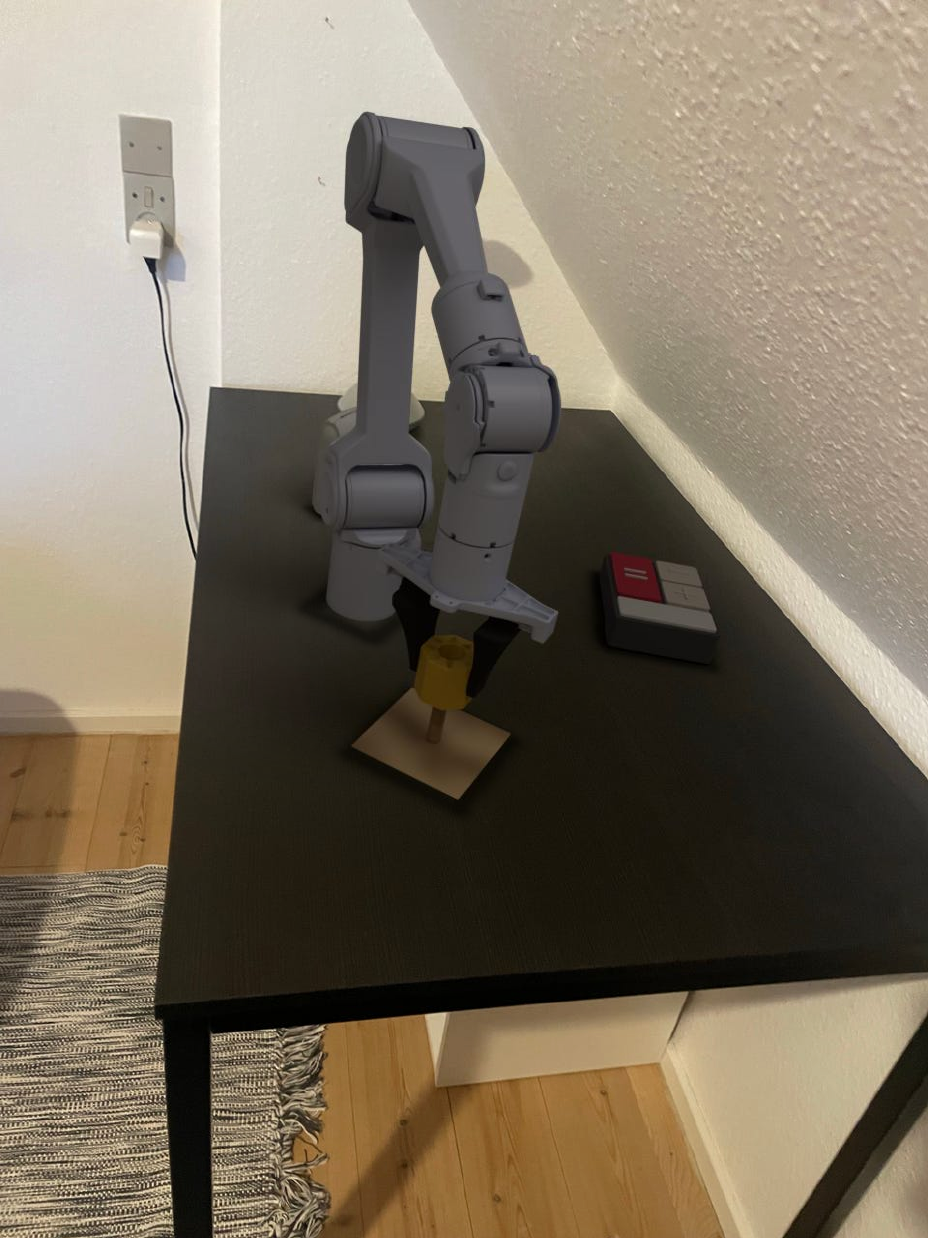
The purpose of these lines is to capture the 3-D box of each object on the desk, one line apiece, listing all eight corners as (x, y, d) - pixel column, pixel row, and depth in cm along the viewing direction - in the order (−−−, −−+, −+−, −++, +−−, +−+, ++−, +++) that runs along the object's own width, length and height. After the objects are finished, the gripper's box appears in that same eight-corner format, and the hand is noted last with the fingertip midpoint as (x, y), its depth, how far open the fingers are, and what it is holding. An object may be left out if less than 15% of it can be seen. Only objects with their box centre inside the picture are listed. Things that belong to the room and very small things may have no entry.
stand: (410, 694, 85) (418, 649, 82) (509, 740, 82) (521, 695, 79) (349, 753, 77) (356, 705, 74) (456, 806, 74) (467, 759, 71)
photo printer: (369, 488, 118) (381, 394, 111) (393, 502, 116) (407, 407, 109) (305, 507, 111) (314, 408, 104) (330, 523, 109) (340, 422, 102)
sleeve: (432, 667, 79) (440, 628, 77) (481, 689, 77) (490, 650, 75) (405, 693, 75) (412, 653, 73) (455, 717, 74) (464, 677, 72)
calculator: (700, 564, 108) (724, 630, 95) (689, 596, 110) (711, 665, 97) (606, 546, 108) (617, 610, 95) (597, 579, 110) (606, 646, 97)
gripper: (362, 512, 67) (342, 664, 75) (546, 587, 63) (505, 741, 70) (411, 482, 73) (388, 626, 80) (583, 549, 68) (542, 695, 76)
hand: (446, 677), depth 76 cm, fingers closed on sleeve, 4 cm apart
